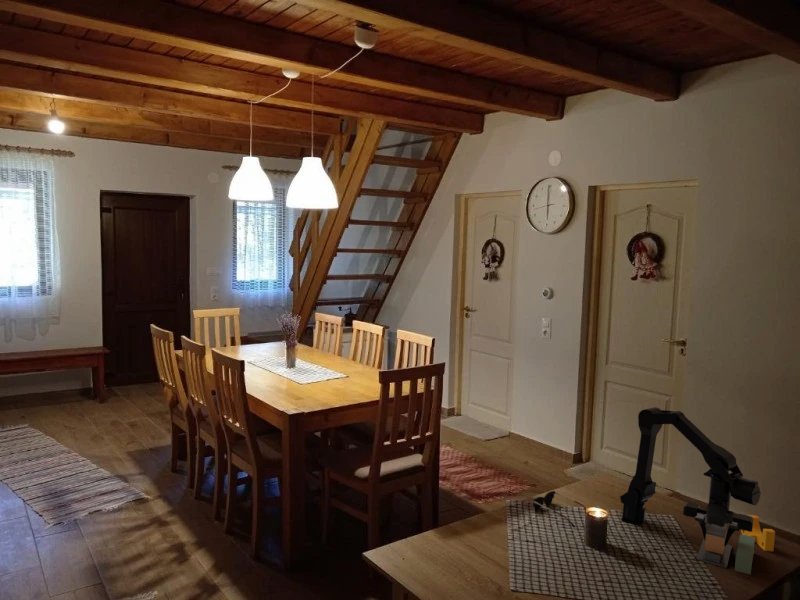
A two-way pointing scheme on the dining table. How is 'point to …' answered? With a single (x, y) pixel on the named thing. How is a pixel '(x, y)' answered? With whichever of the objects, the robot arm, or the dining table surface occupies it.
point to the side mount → (714, 556)
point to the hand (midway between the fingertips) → (715, 543)
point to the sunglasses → (549, 502)
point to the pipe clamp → (761, 535)
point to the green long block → (744, 554)
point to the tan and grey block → (715, 538)
